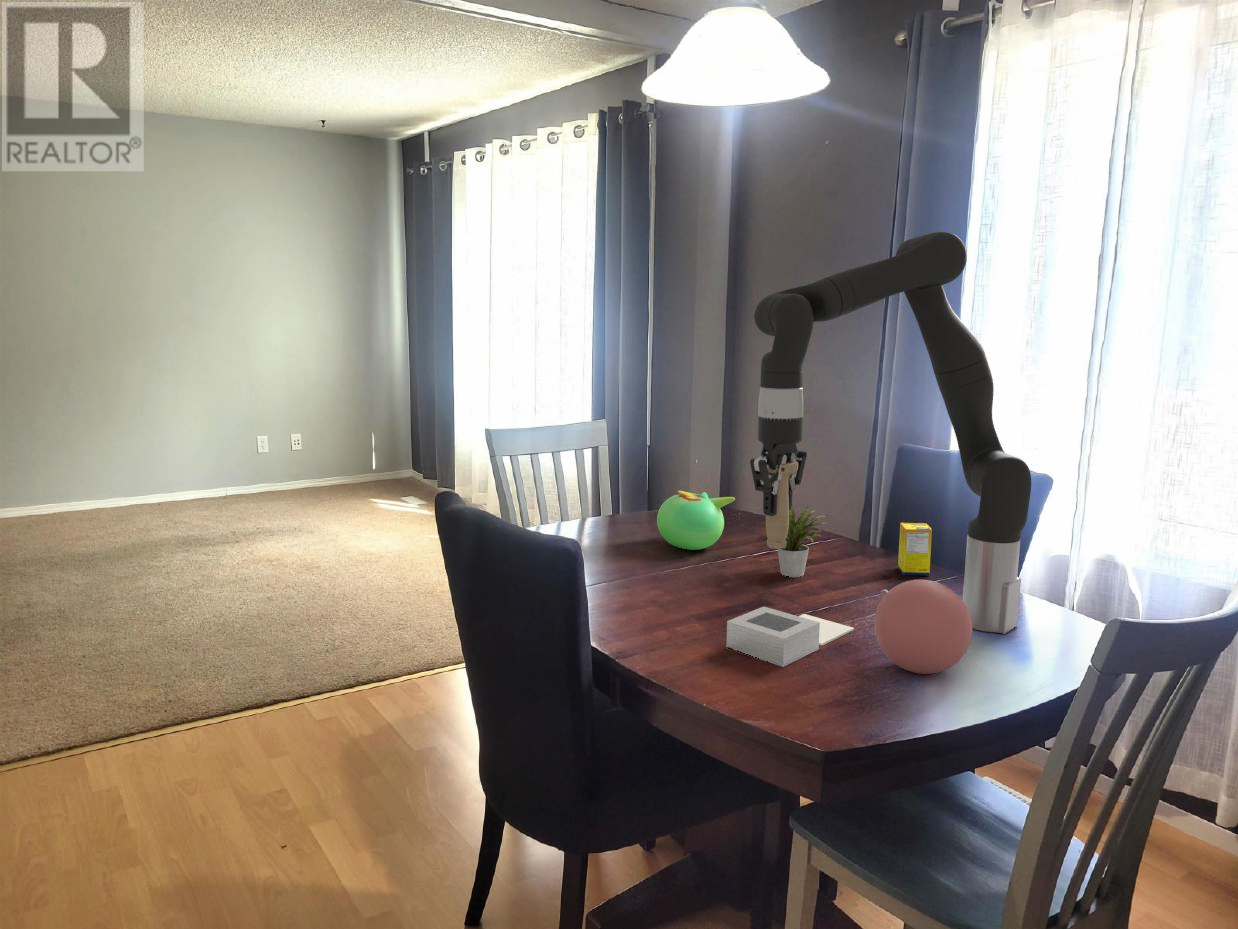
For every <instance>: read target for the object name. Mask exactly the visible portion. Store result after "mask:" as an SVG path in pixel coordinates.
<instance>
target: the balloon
mask: <svg viewBox="0 0 1238 929" xmlns="http://www.w3.org/2000/svg"><path fill="white" fill-rule="evenodd" d="M879 592H880V594H879V595H878V597H877V598H878V601H879V604H878V605H877V608H876V611H875V614H874V619H873V620H874V622H873V625H874V628H873V629H874V634H875V638H876V642H877V643H878V646H879V647H880V650H882V652H883V653H884V655H885V656H886V657H887V658H888V659H889V660H890V661H891V662H892V663H893V664H895V665H896V666H898V667H900V668H902V669H904V670H905V671H908V672H911V673H916V674H920V675H928V674H938V673H940V672H944V671H946V670H949V669H950V668H952V667H954V666H955V665H956V664H957V663H958V662H960V661H961V660H962V659H963V657H964V656H965V654H967V652H968V649H969V647H970V645H971V641H972V637H973V628H972V621H971V617H970V614H969V611H968V609H967V607H966V605H965V604H964V602H963V598H961V597H960V596H959V595H958V594H957V593H956V592H955V591H954V590H953V589H951V588H950V587H948V586H946V585H944V584H942V583H941V582H938V581H934V580H929V579H913V580H912V579H911V580H906V581H904V582H901V583H899V584H897V585H896V586H894V587H892V588H891V589H890V590H887V589H886V588H885V589H881V590H880V591H879Z"/></svg>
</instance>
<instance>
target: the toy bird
mask: <svg viewBox="0 0 1238 929" xmlns="http://www.w3.org/2000/svg"><path fill="white" fill-rule="evenodd" d="M734 501H736V498H735V497H734V496H724V497H723V496H722V497H714V498H713V497H712V498H711V497H710V498H709V495H708V493H706V492H704V491H703V492H702V493H700V494H698V493H695V492H687V491H684V490H677V494H674V495H672V496H670V497H669V498H667V499H666V500H664V502H663V503H662V504H661V506H660V507H659V509H658V512H657V516H656V524H657V528H658V532H659V534H660V535H661V537H662V538H663V539H664V540H665V541H666V542H667V543H669V544H670V545H672V546H674V547H676V548H679V549H681V548H682V549H681V550H686V549H687V550H686V551H698V550H699V551H700V550H703V549H706V548H708V547H711V546H713V545H714V544H715V543H717V541H718V540H719V539H720V537H721V536H722V534H723V531H724V527H725V518H724V515H723V511H722V510H721V508H723V507H724V506H726V505H729V504H731V503H733V502H734Z"/></svg>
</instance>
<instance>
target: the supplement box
mask: <svg viewBox="0 0 1238 929" xmlns="http://www.w3.org/2000/svg"><path fill="white" fill-rule="evenodd" d="M899 525H900V526H899V539H898V561H897V562H898V563H897V569H898V570H899V572H900V573H901V575H902V576H922V577H923V576H926V577H928V576H930V573H931V572H930V570H931V553H932V551H931V550H932V536H933V535H932V533H933V530H932V528H931V527H930V525H929V524H927V523H923V522H918V523H917V522H916V523H914V522H900V524H899Z"/></svg>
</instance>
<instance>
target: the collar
mask: <svg viewBox="0 0 1238 929" xmlns="http://www.w3.org/2000/svg"><path fill="white" fill-rule="evenodd" d="M799 616H800V615H795V614H791V613H787V612H784V611H781V610H779V609H775V608H770V607H767V606H761V607H759V608H756V609H754V610H752V611H749V612H747V613H744V614H741V615H739V616H736V617H734V618H732V619H729V620H727V621H726V647H730V648H733V649H734V650H739V651H741V652H743V653H745V654H744V655H746V654H749V655H751V656H750V657H752V656H753V657H752V658H755V657H757V658H756V659H758V658H759V659H758V660H760V661H764V662H767V661H768V663H771V664H773V665H776V666H779V667H782V668H785V667H786V666H788V665H790V664H792V663H794V662H797V661H798V660H800V659H803V658H804V657H806V656H808V655H810V654H812V653H814V652H816V651H819V647H820V645H819V630H820V622H816V621H813V620H809V619H806V618H802V617H799ZM734 650H733V651H734ZM743 653H742V654H743ZM749 655H748V656H749Z"/></svg>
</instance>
